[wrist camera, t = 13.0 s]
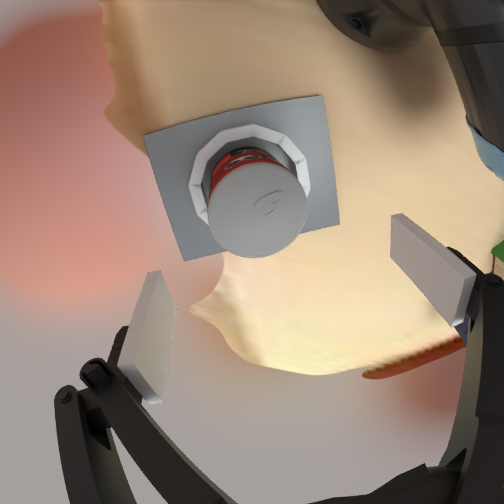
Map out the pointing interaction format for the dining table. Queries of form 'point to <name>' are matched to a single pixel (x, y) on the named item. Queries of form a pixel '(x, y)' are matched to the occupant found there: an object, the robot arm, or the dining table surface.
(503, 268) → the hardback book
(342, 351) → the dining table surface
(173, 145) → the holder
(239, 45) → the dining table surface
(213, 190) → the canned food
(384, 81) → the dining table surface
